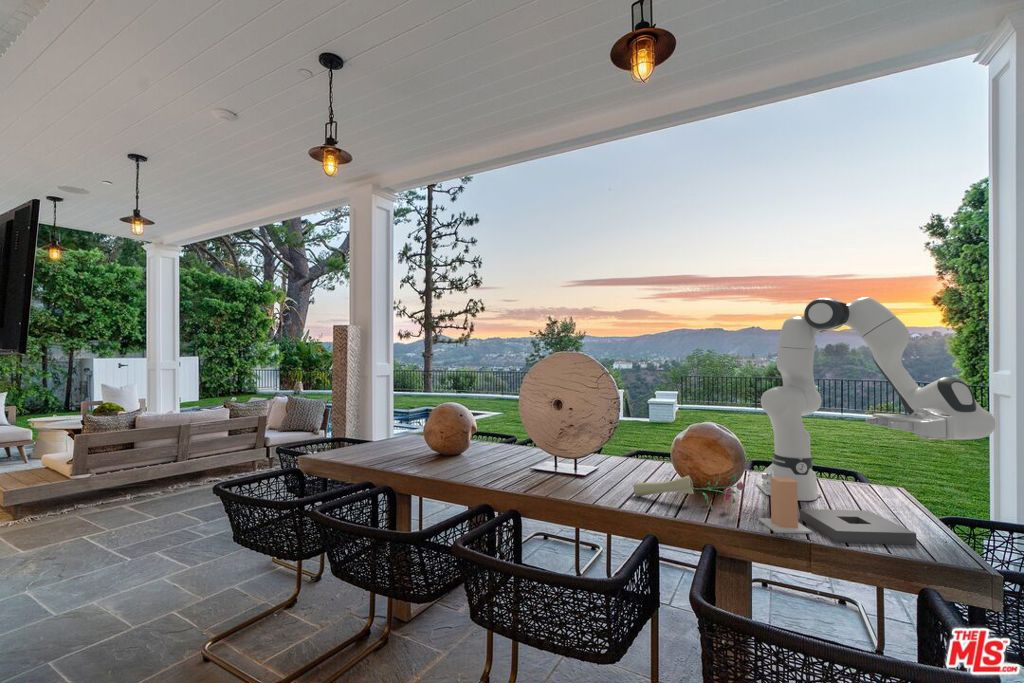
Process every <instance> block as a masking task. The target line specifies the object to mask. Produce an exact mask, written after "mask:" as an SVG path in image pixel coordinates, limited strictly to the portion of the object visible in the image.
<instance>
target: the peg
mask: <svg viewBox="0 0 1024 683" xmlns="http://www.w3.org/2000/svg"><path fill="white" fill-rule="evenodd" d="M798 501H799V500H797V482H796V481H794V480H792V479H790V478H788V477H771V495H770V518H771V521H772V522H773V523H775V524H776V525H777V526H779V527H788V528H798V522H799V513H798V512H799V510H798V509H799V508H798V507H799V506H798Z"/></svg>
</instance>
